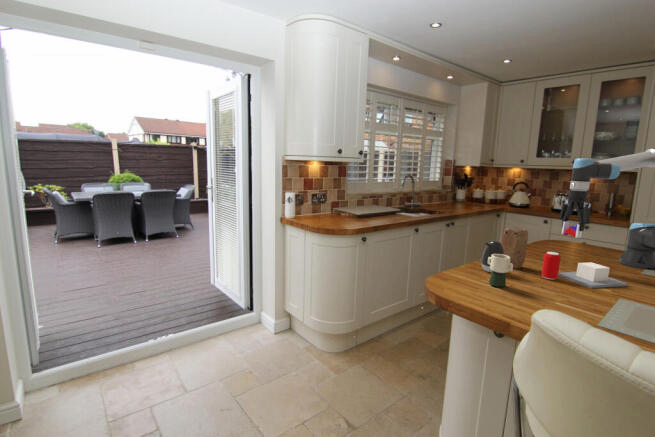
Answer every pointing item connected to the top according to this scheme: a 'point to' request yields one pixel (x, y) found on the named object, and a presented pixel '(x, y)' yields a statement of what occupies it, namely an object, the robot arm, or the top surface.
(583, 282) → the build base
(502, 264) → the character mug
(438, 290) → the top surface
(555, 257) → the beverage can
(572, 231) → the toy building block
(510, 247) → the block
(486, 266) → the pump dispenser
